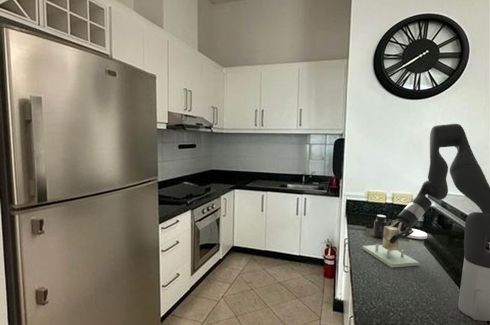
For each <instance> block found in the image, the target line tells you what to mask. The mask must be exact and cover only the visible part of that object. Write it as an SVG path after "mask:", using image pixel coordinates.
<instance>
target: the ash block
mask: <svg viewBox="0 0 490 325" xmlns="http://www.w3.org/2000/svg"><path fill="white" fill-rule="evenodd" d="M397 230H398V229H397V228H396V227H392V226H384V234H383V238H382V244H381V245H382V247H383V248H385V249H387V250H389V251H392V250H398V249H399V248H398V246H399V239H398V240H397V241H396V242H395V243H393V244H392V243H391V242H390V241H389V240H390V239H391V238H392V237H393V236H394V235H395V234H396V232H397Z"/></svg>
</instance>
